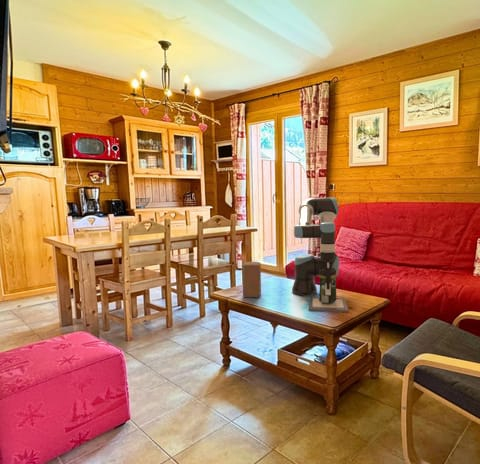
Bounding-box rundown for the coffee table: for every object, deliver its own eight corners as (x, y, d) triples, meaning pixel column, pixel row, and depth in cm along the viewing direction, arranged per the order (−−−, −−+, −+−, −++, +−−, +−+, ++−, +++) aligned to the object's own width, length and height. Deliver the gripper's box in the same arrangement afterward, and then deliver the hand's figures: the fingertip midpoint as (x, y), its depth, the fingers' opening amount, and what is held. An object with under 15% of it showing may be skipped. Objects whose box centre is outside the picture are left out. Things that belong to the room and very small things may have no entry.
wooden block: (259, 298, 206) (258, 265, 204) (242, 297, 208) (241, 264, 206) (261, 293, 216) (260, 261, 214) (245, 293, 218) (244, 261, 216)
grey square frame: (309, 299, 202) (309, 296, 202) (345, 300, 198) (345, 297, 198) (308, 310, 183) (308, 307, 183) (348, 312, 179) (348, 309, 178)
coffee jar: (325, 297, 196) (325, 265, 194) (338, 300, 191) (338, 267, 189) (316, 302, 189) (316, 268, 187) (329, 305, 184) (329, 270, 182)
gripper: (320, 248, 199) (320, 286, 201) (320, 254, 177) (320, 298, 180) (333, 248, 197) (333, 287, 199) (336, 255, 176) (336, 298, 178)
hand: (327, 292), depth 189 cm, fingers closed on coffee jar, 9 cm apart
